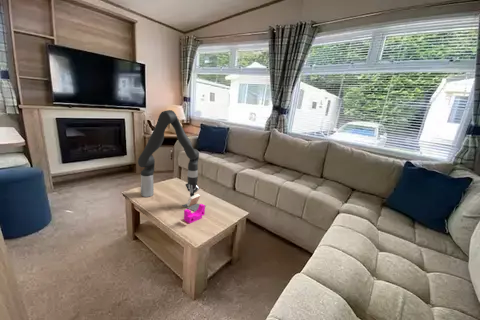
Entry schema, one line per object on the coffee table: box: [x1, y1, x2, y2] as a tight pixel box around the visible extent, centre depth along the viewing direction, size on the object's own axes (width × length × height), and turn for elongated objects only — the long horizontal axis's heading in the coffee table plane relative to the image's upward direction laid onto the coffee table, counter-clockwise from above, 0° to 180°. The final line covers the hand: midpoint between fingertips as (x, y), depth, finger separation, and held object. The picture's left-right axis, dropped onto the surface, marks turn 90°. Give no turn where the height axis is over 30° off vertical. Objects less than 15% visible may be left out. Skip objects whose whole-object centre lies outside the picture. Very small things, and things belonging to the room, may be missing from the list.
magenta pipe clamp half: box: [183, 203, 206, 224], centre depth 148 cm, size 15×6×8 cm, turn 141°
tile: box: [186, 193, 201, 207], centre depth 166 cm, size 2×9×8 cm, turn 147°
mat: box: [182, 203, 207, 212], centre depth 166 cm, size 14×12×1 cm
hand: (192, 197), depth 166 cm, fingers closed
